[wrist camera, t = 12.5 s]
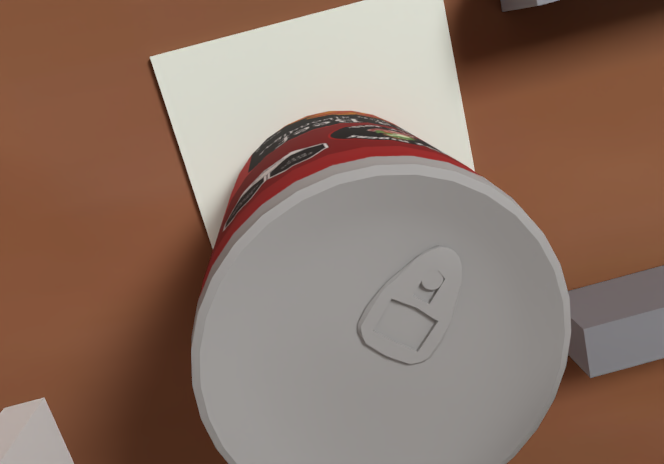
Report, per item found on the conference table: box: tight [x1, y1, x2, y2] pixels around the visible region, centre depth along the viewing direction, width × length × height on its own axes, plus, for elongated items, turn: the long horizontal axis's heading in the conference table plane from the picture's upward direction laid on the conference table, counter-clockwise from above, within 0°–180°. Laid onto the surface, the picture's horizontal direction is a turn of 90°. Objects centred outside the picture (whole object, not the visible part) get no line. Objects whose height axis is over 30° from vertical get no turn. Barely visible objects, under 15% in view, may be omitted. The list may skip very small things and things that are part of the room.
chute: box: [150, 0, 664, 378], centre depth 22 cm, size 15×28×3 cm, turn 104°
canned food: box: [191, 111, 571, 464], centre depth 17 cm, size 8×8×11 cm
